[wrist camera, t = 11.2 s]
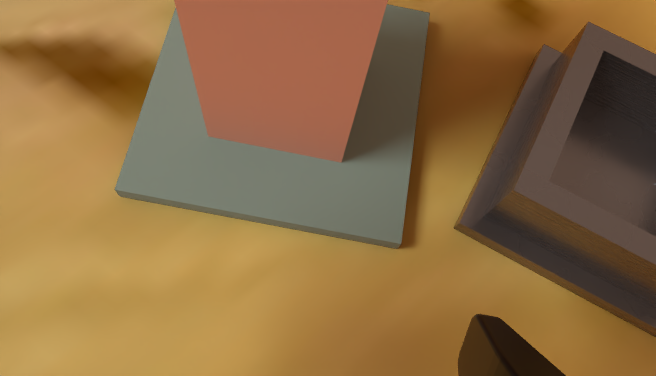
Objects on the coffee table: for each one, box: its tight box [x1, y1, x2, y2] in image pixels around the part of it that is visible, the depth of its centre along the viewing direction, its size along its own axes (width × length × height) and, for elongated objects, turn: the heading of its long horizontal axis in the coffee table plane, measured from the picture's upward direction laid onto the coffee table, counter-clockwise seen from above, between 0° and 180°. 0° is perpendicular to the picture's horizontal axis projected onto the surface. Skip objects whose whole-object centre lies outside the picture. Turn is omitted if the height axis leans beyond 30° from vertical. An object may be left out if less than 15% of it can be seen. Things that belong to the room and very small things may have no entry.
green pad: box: [115, 4, 430, 249], centre depth 19 cm, size 9×9×1 cm
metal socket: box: [454, 22, 656, 337], centre depth 18 cm, size 8×8×3 cm
